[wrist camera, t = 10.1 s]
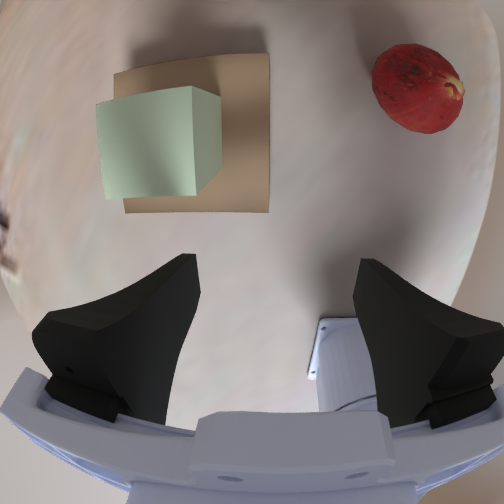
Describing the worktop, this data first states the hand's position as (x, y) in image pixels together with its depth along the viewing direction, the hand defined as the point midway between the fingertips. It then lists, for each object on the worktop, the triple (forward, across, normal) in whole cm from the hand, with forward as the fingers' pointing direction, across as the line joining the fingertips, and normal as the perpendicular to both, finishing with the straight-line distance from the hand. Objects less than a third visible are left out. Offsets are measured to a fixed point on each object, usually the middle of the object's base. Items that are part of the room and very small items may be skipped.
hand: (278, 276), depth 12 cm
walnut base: (+9, +6, -6) cm, 12 cm away
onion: (+10, -8, -10) cm, 16 cm away
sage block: (+6, +6, -6) cm, 10 cm away
